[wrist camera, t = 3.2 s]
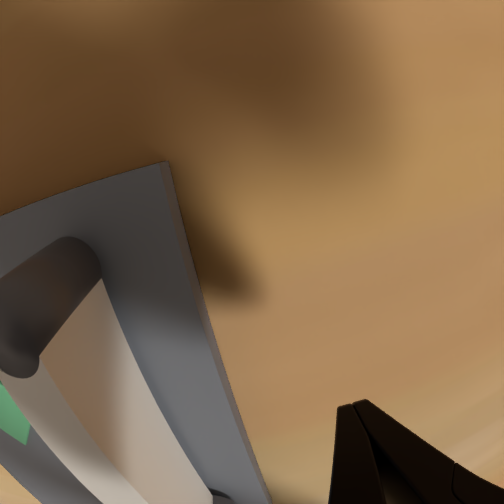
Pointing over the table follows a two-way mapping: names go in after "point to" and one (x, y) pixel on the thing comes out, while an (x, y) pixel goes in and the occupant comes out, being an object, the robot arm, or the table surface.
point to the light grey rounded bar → (88, 382)
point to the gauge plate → (137, 331)
